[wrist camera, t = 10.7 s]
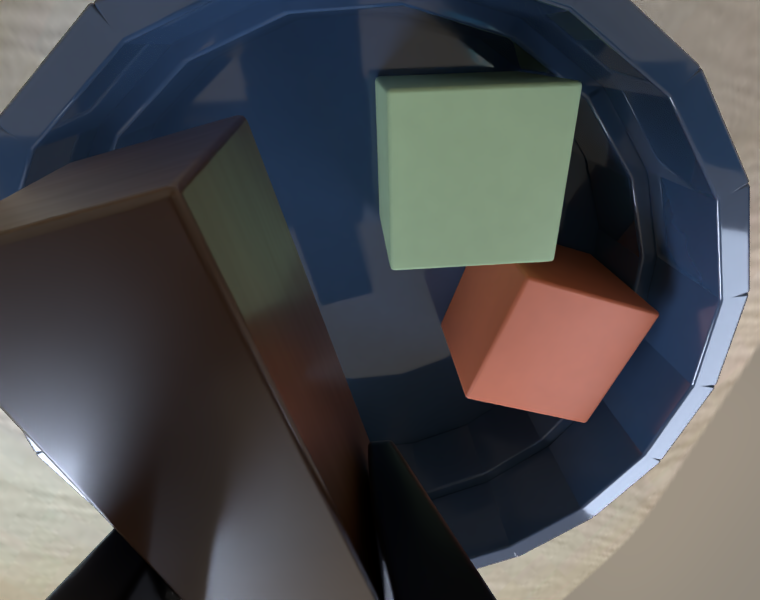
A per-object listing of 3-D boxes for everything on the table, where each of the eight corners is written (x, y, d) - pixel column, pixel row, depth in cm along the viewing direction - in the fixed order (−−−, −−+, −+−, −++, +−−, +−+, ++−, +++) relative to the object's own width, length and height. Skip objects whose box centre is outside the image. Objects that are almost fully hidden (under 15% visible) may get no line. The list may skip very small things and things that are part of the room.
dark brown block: (245, 111, 6) (174, 185, 3) (402, 524, 10) (423, 688, 8) (66, 162, 6) (-136, 272, 3) (300, 547, 11) (288, 716, 8)
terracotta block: (591, 253, 14) (662, 313, 11) (538, 348, 15) (586, 425, 12) (484, 221, 13) (527, 276, 10) (439, 324, 15) (464, 399, 12)
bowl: (673, -56, 11) (902, -125, 6) (579, 433, 18) (655, 558, 14) (-5, -8, 10) (-263, -46, 6) (182, 473, 18) (129, 615, 13)
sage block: (519, 70, 11) (585, 80, 8) (505, 210, 13) (555, 262, 10) (374, 76, 11) (386, 88, 8) (379, 217, 13) (390, 272, 10)
